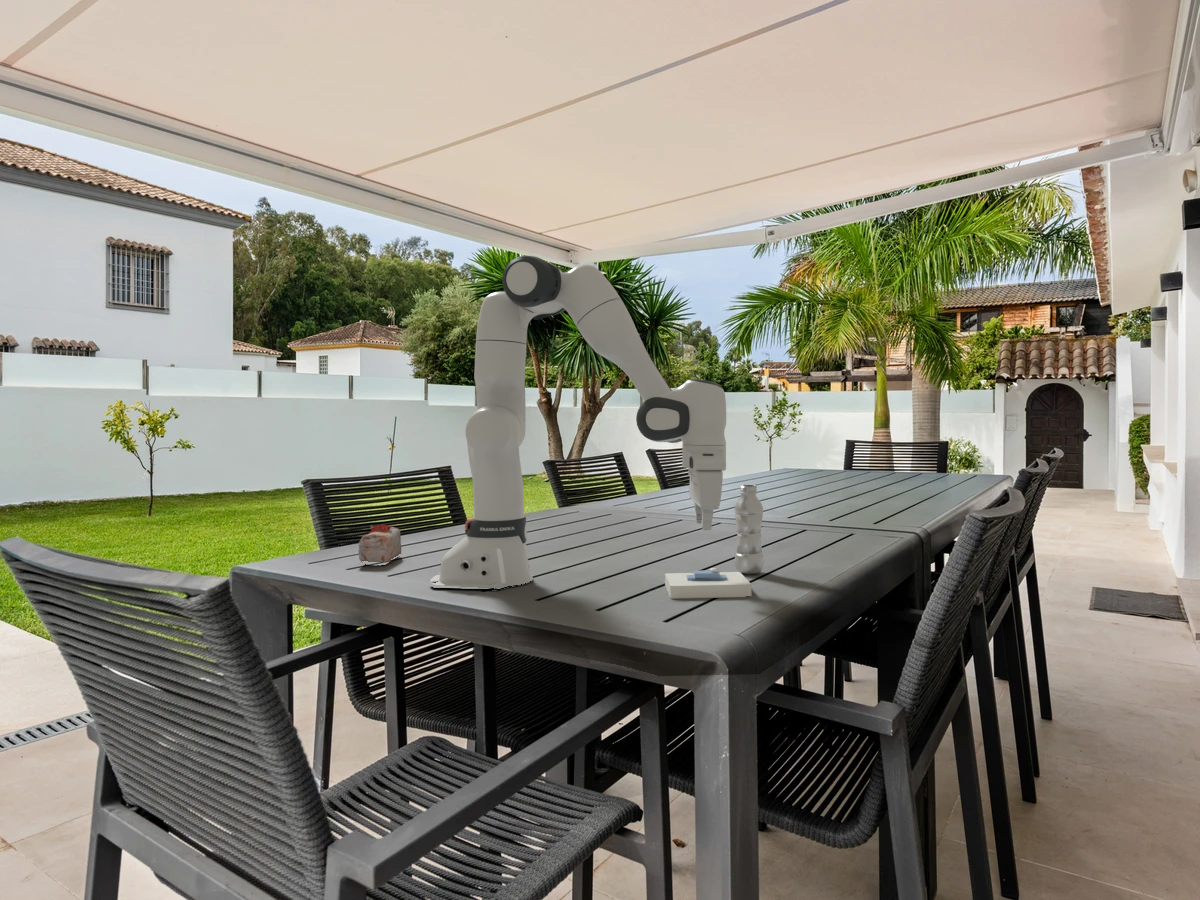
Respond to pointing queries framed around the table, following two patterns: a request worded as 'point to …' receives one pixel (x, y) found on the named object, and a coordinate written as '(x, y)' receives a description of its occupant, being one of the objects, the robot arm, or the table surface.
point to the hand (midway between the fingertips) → (703, 526)
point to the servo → (707, 575)
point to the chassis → (707, 586)
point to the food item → (380, 544)
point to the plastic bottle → (749, 531)
